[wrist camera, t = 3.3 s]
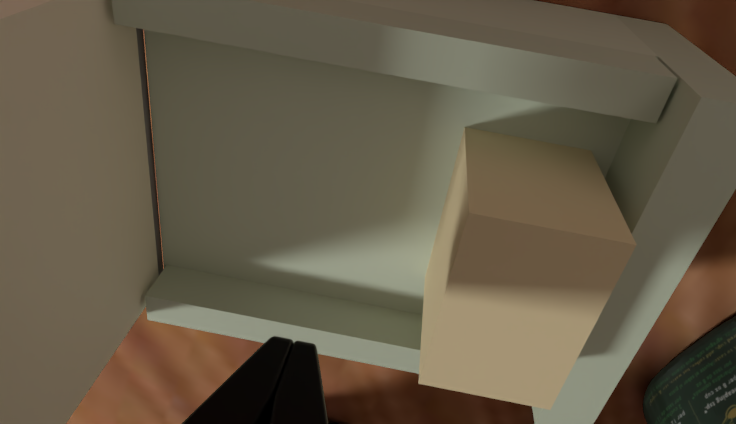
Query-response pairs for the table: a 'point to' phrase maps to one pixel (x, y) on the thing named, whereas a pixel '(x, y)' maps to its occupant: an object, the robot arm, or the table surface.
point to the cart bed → (410, 159)
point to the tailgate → (70, 201)
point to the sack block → (518, 268)
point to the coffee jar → (697, 383)
